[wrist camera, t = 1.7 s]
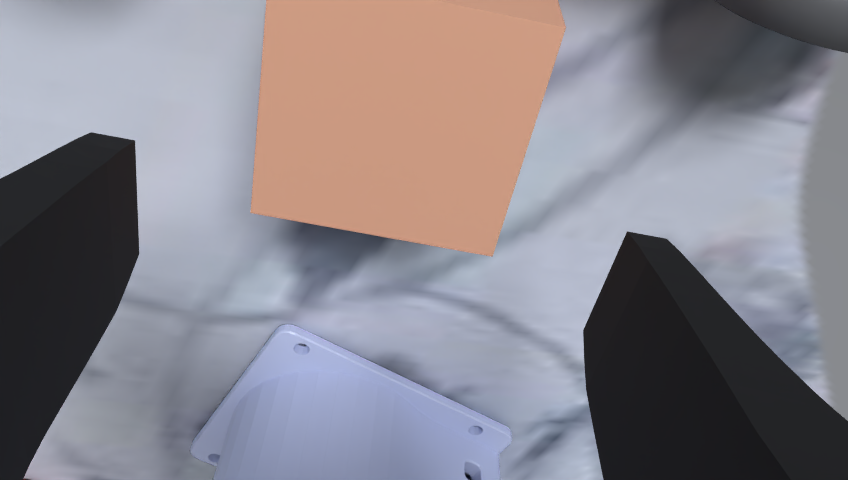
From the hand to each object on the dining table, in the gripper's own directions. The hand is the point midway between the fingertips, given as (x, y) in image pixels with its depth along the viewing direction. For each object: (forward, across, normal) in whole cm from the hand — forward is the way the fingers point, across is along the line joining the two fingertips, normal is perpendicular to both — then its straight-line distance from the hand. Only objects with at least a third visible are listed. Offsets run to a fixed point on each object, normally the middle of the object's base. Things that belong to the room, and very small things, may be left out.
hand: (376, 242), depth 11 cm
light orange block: (+10, 0, 0) cm, 10 cm away
